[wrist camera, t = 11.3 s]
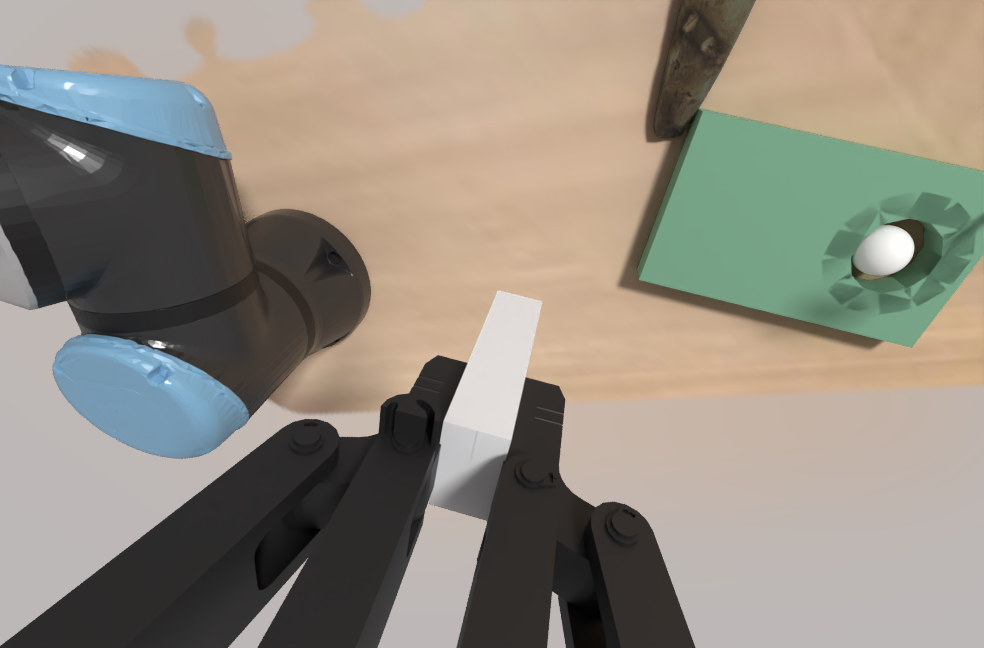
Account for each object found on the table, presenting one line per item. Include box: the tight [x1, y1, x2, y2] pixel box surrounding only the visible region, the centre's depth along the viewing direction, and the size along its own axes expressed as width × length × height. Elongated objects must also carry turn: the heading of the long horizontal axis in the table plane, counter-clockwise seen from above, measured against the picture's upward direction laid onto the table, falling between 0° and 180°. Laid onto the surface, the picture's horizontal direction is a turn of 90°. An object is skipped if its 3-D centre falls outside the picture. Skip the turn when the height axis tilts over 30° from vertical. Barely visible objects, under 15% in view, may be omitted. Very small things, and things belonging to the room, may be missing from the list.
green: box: [637, 108, 984, 348], centre depth 34 cm, size 24×14×16 cm, turn 80°
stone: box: [654, 0, 756, 137], centre depth 35 cm, size 13×5×2 cm, turn 172°
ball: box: [851, 225, 914, 276], centre depth 38 cm, size 4×4×4 cm
